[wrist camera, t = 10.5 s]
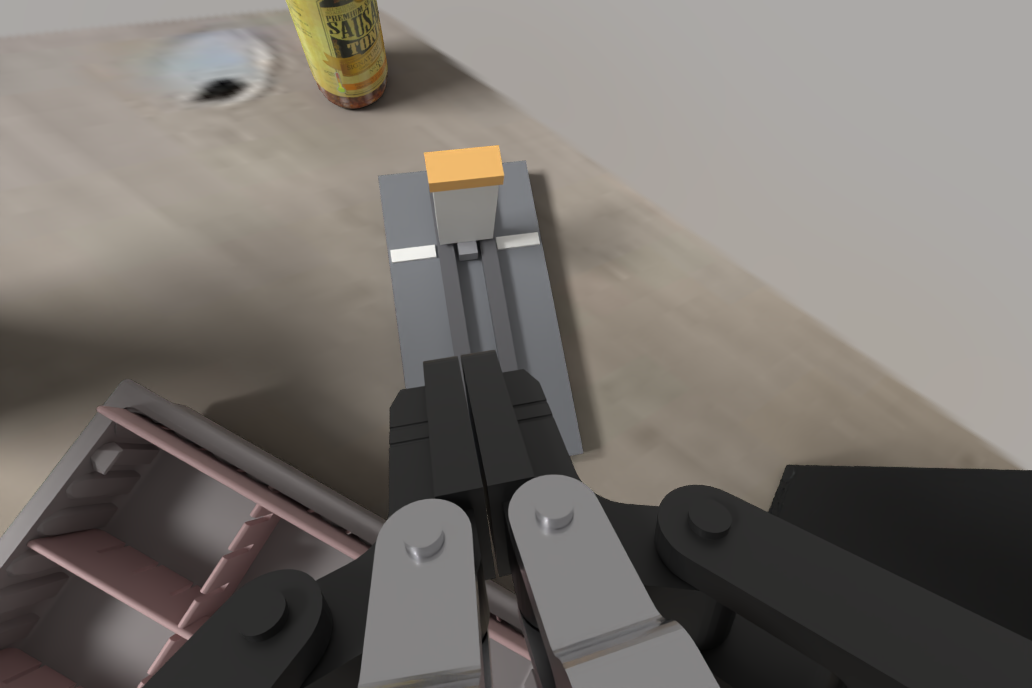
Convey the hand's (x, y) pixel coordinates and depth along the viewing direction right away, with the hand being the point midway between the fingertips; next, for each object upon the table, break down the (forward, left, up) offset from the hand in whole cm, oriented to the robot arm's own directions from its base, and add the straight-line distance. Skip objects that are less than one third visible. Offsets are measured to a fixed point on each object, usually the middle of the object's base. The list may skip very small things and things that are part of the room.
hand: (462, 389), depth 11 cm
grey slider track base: (-5, +8, -28) cm, 30 cm away
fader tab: (-9, +12, -26) cm, 30 cm away
